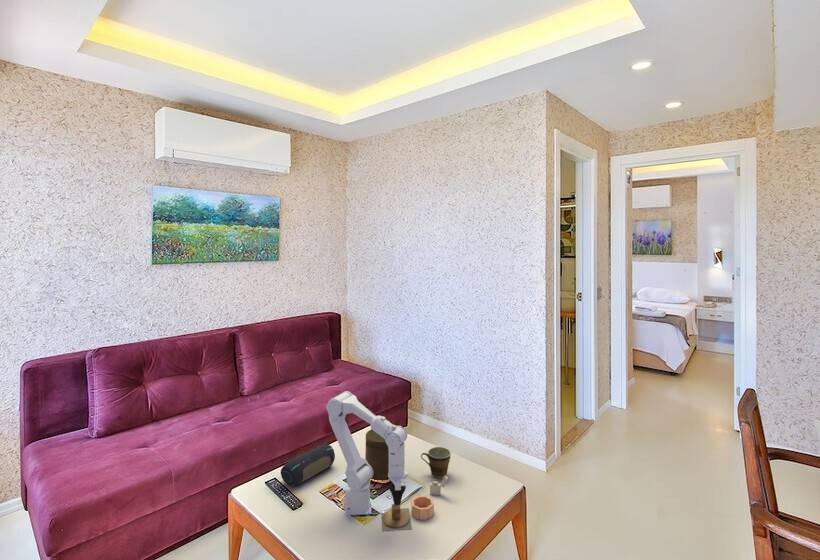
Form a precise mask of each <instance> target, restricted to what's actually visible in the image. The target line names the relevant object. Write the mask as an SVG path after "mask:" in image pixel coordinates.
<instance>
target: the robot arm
mask: <svg viewBox="0 0 820 560" xmlns="http://www.w3.org/2000/svg"><path fill="white" fill-rule="evenodd" d="M325 408H326V412H327V414H328V420H329V424H330V426H331V428H332V431H333V432H334V433H333V434H334V435H335V438H336V440H337V443H338V445H339V447H340V450H341V452H342V455H343V457H344V459H345V462H346V468H345V472H344V474H345V477H346V485H345V492H344V493H345V494H344V497H345V498H344V499H345V500H344V509H345V510H344V512H345V513H344V515H345V516H357V515H371V514H372V506H371V507H370V500H371V481H370V479H371V478H372V477H373V469H372V467H371V466H370V465H369V464H368V462H367V460H366V459H365V458H363V457H361V455H360V452H359V450H358V448H357V445H356V442H355V440H354V438H353V436H352V433H351V431H350V429H349V426H348V424H347V422H346V417H347V415H348V414H354V415H355V416H357V417H359V419H361V420H363V421H365V422H367V424H370V430H371V429H372V430H373V431H375V432H376V433H377V434H379V435H380V436H381V437H383V438H384V439H385V441H386V444H387V445H388V450H389V472H388V477H389V478H390V480H391V482H390V484H391V485H389V486H388V488H389V491H390V493H391V495H392V501H393V504H394V505H400V506H401V504H402V497H403V495H404V493H405V492H406V488H407V487H406V485H402V483H403V481H404V479H405V477H408V476H409V473H408V471H405V462H406V461H405V454H406V453H405V452H406V451H405V450H406V449H405V441H406V440H407V438H408V433H407V430H406V429H405V428H404V427H403V426H401V425H395V424H393V423H391V422H390V421H389V420H388V419H386V417H385V416H384V415H383V416H382V415H376V414H374V413H373V412H372V411H370V410H369V409H368V408H366V406H365V405H363V404H362V403H361V402H360V401H359V400H358V398H357V396H356V395H354V394H353V393H352V392H350V391H349V390H348V391H347V390H345V391H343V392H341V393H339V394H338V395H336V396H334V397H332V398H330V399H329V400H328V402H327V403H326V406H325Z"/></svg>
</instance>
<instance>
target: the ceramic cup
mask: <svg viewBox="0 0 820 560" xmlns="http://www.w3.org/2000/svg"><path fill="white" fill-rule="evenodd" d="M423 455H425V456H426V457H427V458H428V461H429V462H428V461H427V460H426V459H425V458H424V457H423ZM451 455H452V452H451V450H450V449H448V448H446V447H443V446H442V447H441V446H436V447H431V448H429V449H428V451H427V453H426V452H423V453H421V455H420V459H422V461H424V462H425V463H426V464H428V466H429V468H430V473H431V474H430V475H431V476H432V477H433V478H434V479H441V478H442V479H443V478H444V476H445V475H446V476H447V477H448V475H447V474H448V469H449V464H450V460H451Z"/></svg>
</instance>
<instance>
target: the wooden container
mask: <svg viewBox="0 0 820 560" xmlns="http://www.w3.org/2000/svg"><path fill="white" fill-rule="evenodd" d="M364 459H366V460H367V462H368V464H369V465H370V466H371V467H372V469H373V477H372V478H371V479H374V480H382V481H383V480H388V479H390V478H389V477H388V472H389V450H388V445H387V444H386V441H385V439H384V438H383V437H381V436H380V435H379V434H377V433H376V432H375V431H373V430H372V429H371V428H370V429H369V430H368V431H367V432H366V433H365V458H364Z"/></svg>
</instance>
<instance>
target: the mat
mask: <svg viewBox="0 0 820 560" xmlns="http://www.w3.org/2000/svg"><path fill="white" fill-rule="evenodd" d="M400 509H401V510H404V511H406V512H407V513H408V514H409V522H408V524H407V525H405V526H403V527H401V528H391V527H388V526H386V525H385V524H384V522H383V515H384V514H385V513H381V512H380V513H381V514H380V515H381V532H395V531H398V532H399V531H410V530H411V531H412V530H413V528H412V520H411V514H410V508H409V507H407V508H406V507H405V508H402V507H401V508H400Z"/></svg>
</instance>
